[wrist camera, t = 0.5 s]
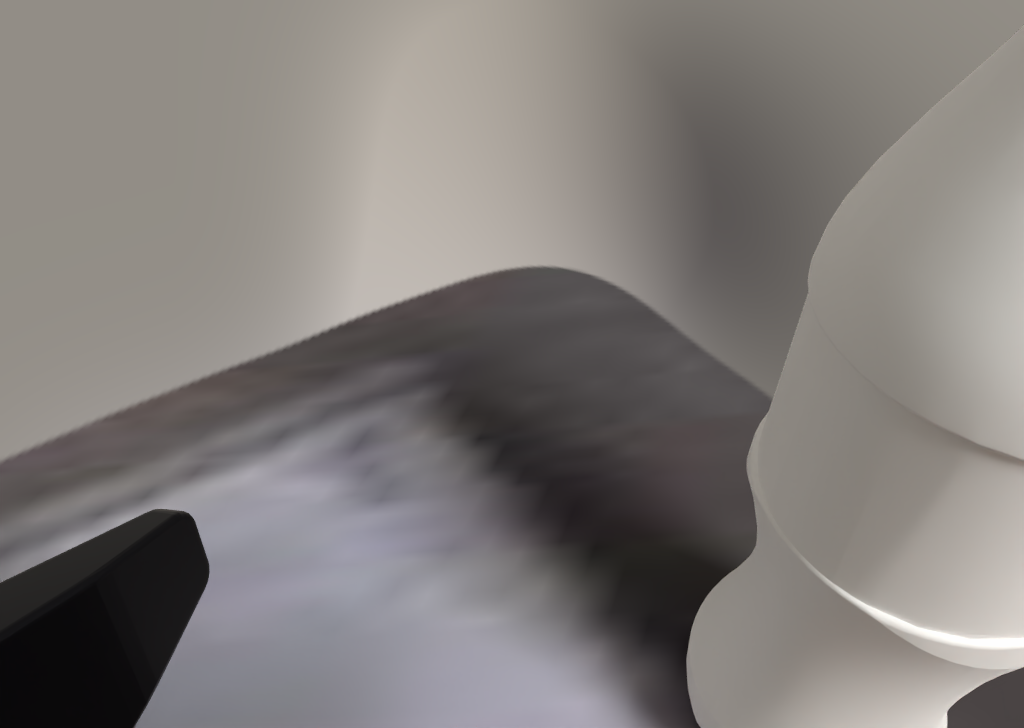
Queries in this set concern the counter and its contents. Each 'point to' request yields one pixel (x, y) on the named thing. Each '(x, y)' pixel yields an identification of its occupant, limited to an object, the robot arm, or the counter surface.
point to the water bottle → (891, 447)
